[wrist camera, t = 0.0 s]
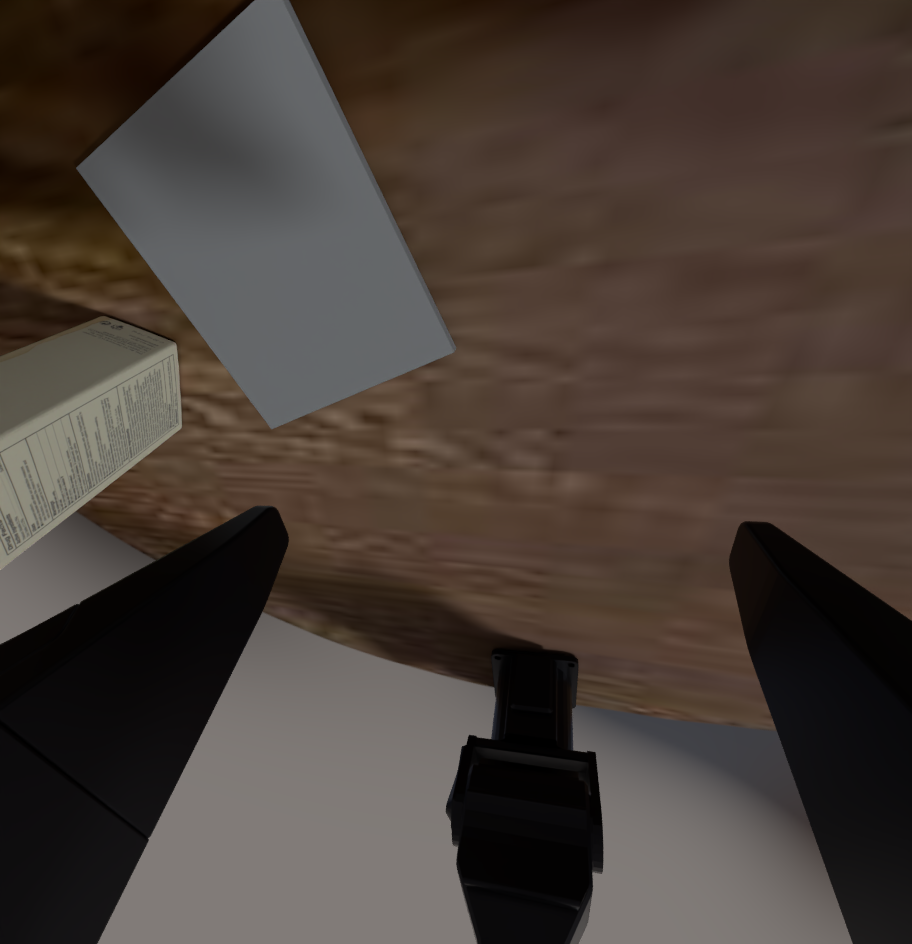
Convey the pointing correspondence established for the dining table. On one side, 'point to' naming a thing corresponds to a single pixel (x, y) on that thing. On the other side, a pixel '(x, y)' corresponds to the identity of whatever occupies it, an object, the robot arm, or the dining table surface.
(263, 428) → the dining table surface
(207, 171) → the slate mat
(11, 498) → the skincare box
